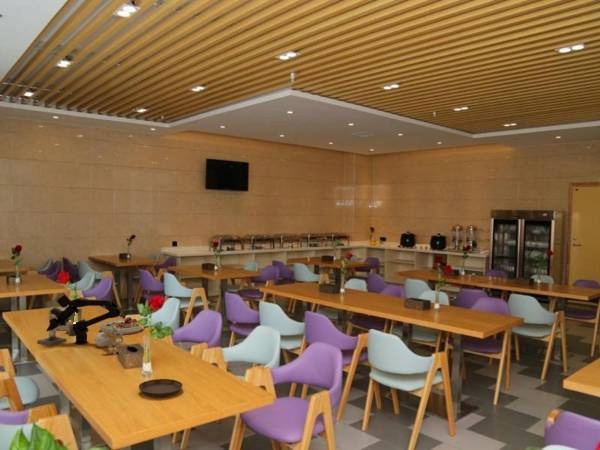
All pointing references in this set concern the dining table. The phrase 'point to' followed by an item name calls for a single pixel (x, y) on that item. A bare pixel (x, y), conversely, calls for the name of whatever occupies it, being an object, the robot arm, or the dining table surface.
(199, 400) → the dining table surface
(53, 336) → the steel roller
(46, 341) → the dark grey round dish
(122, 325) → the bowl
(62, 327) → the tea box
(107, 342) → the flower vase
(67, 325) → the brass bushing
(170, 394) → the plant saucer
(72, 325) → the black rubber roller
